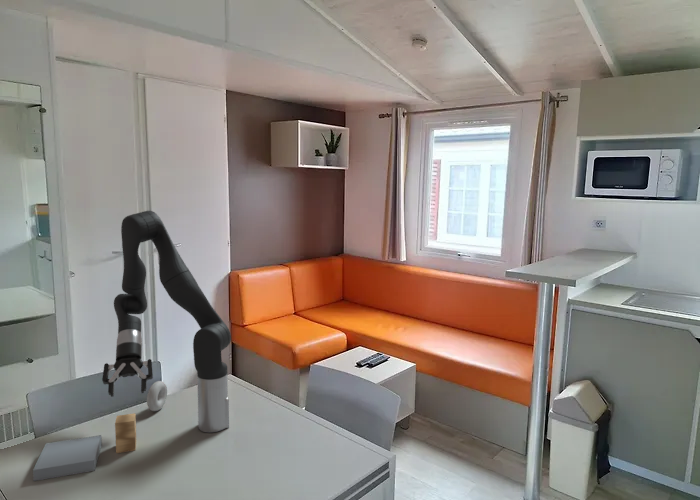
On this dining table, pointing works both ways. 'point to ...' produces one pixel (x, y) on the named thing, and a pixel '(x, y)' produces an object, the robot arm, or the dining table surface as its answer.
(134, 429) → the block
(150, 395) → the donut
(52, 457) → the plinth
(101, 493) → the dining table surface
